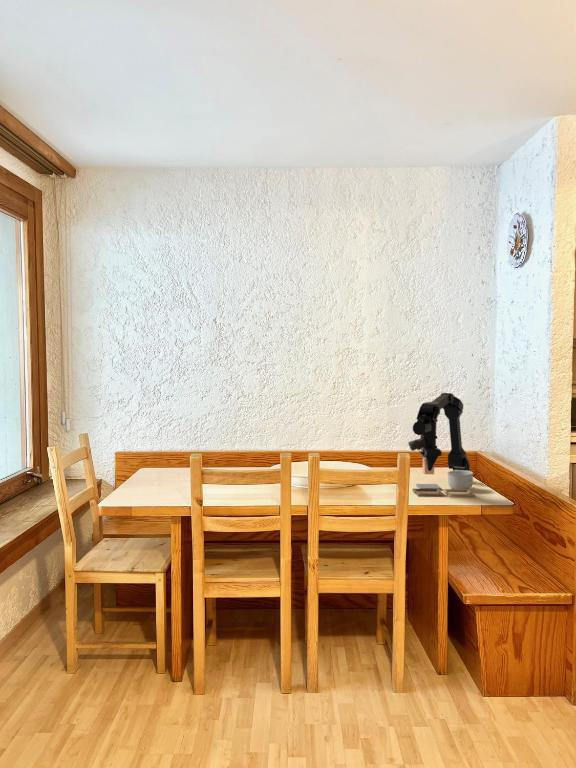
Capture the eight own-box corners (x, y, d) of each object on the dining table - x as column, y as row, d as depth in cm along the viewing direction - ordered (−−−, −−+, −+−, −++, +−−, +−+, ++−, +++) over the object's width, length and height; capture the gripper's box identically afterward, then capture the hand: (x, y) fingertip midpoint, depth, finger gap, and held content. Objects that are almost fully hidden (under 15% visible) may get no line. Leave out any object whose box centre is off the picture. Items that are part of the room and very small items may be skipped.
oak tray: (442, 492, 284) (442, 489, 284) (468, 492, 284) (468, 489, 284) (449, 498, 273) (449, 494, 273) (476, 498, 273) (476, 494, 273)
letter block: (422, 472, 281) (422, 457, 280) (431, 472, 281) (432, 457, 280) (424, 474, 277) (425, 458, 276) (434, 474, 277) (434, 458, 276)
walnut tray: (412, 492, 285) (412, 488, 285) (437, 492, 285) (437, 488, 285) (418, 497, 274) (418, 494, 274) (444, 497, 274) (444, 494, 274)
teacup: (473, 493, 284) (474, 474, 283) (447, 491, 286) (448, 473, 286) (471, 486, 297) (471, 469, 297) (446, 485, 300) (446, 467, 299)
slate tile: (416, 487, 295) (416, 483, 295) (436, 487, 295) (436, 484, 295) (420, 491, 286) (421, 488, 286) (441, 491, 286) (441, 488, 286)
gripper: (405, 430, 287) (404, 465, 288) (415, 435, 268) (414, 473, 269) (431, 430, 287) (430, 466, 288) (442, 435, 269) (441, 473, 269)
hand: (428, 469), depth 279 cm, fingers closed on letter block, 4 cm apart
